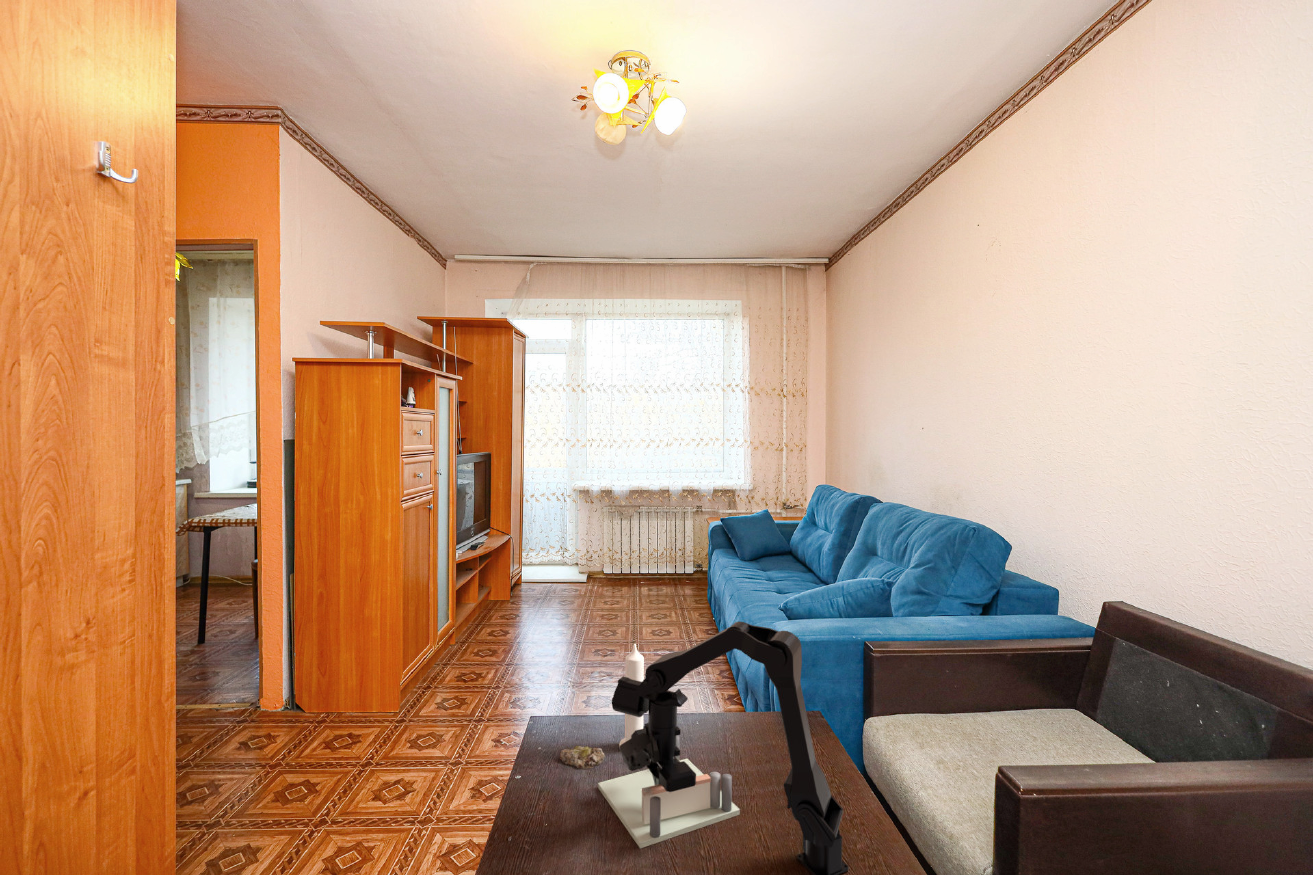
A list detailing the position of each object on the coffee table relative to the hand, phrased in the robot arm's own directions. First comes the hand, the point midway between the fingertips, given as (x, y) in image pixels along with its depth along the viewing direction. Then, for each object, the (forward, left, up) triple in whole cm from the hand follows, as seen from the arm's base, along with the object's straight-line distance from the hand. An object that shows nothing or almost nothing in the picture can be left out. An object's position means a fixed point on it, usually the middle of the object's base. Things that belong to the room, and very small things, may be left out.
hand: (660, 798), depth 118 cm
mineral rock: (+25, +7, -3) cm, 27 cm away
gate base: (+3, -3, -3) cm, 5 cm away
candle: (+25, -6, -3) cm, 26 cm away
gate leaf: (-4, -3, -1) cm, 5 cm away
